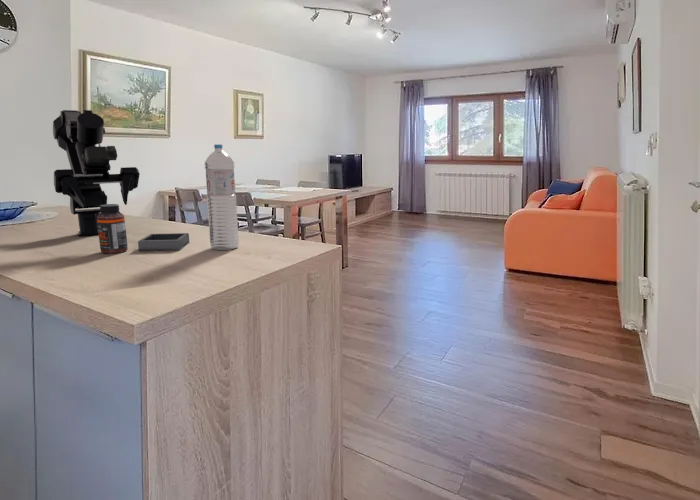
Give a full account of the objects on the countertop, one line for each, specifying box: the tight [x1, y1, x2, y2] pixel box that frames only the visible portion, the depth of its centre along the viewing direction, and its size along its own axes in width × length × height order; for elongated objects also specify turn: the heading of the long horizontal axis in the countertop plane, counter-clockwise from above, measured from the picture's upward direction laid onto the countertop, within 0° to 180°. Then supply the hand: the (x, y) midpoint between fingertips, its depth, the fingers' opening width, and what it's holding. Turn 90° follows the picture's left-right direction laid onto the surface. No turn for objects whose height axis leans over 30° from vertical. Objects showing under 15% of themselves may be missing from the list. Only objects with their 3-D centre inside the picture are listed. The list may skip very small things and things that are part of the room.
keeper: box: [137, 232, 190, 252], centre depth 121 cm, size 10×10×2 cm
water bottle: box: [204, 143, 240, 251], centre depth 117 cm, size 7×7×25 cm
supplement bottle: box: [97, 203, 129, 255], centre depth 115 cm, size 6×6×11 cm
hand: (105, 205), depth 117 cm, fingers open, 9 cm apart
